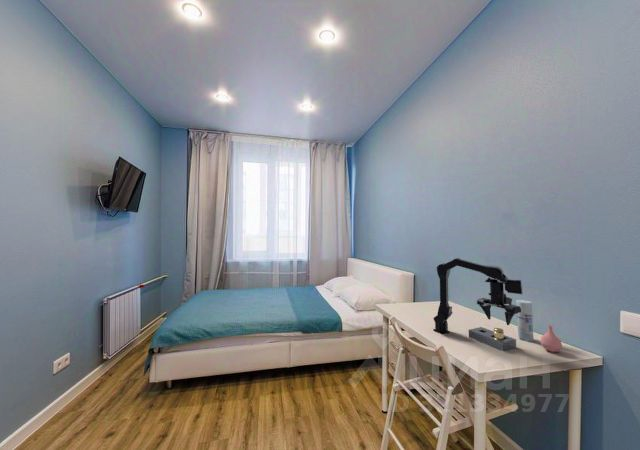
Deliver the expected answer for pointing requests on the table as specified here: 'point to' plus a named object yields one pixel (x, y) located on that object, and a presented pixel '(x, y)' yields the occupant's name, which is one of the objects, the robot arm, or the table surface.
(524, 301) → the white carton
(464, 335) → the table surface
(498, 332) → the brass fitting
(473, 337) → the manifold plate
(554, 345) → the pink teardrop bulb
